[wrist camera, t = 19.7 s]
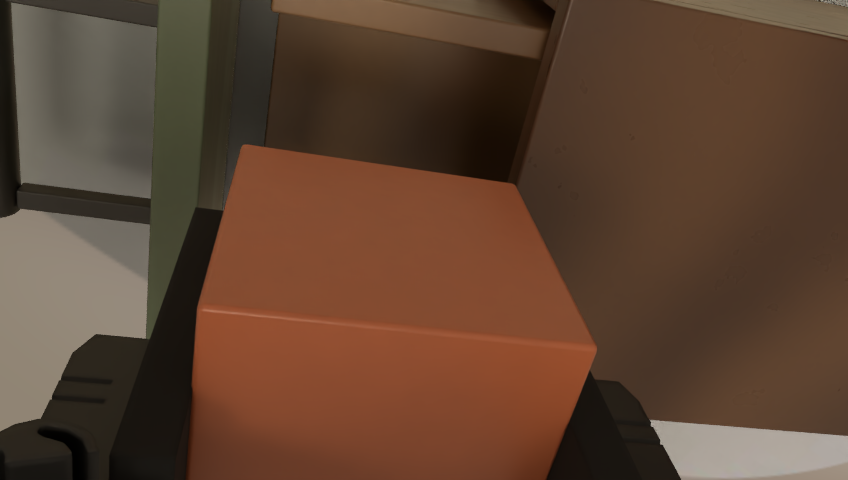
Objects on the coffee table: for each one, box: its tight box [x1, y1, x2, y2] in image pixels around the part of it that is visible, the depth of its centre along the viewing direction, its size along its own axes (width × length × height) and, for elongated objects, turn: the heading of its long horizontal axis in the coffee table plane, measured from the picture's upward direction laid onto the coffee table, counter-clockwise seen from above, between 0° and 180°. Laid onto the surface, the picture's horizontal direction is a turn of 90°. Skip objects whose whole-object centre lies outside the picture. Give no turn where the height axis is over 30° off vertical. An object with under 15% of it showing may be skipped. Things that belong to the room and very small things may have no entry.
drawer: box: [0, 0, 556, 339], centre depth 23 cm, size 19×11×8 cm, turn 78°
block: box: [186, 144, 597, 480], centre depth 13 cm, size 6×6×6 cm
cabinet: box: [507, 0, 848, 436], centre depth 25 cm, size 15×13×10 cm
